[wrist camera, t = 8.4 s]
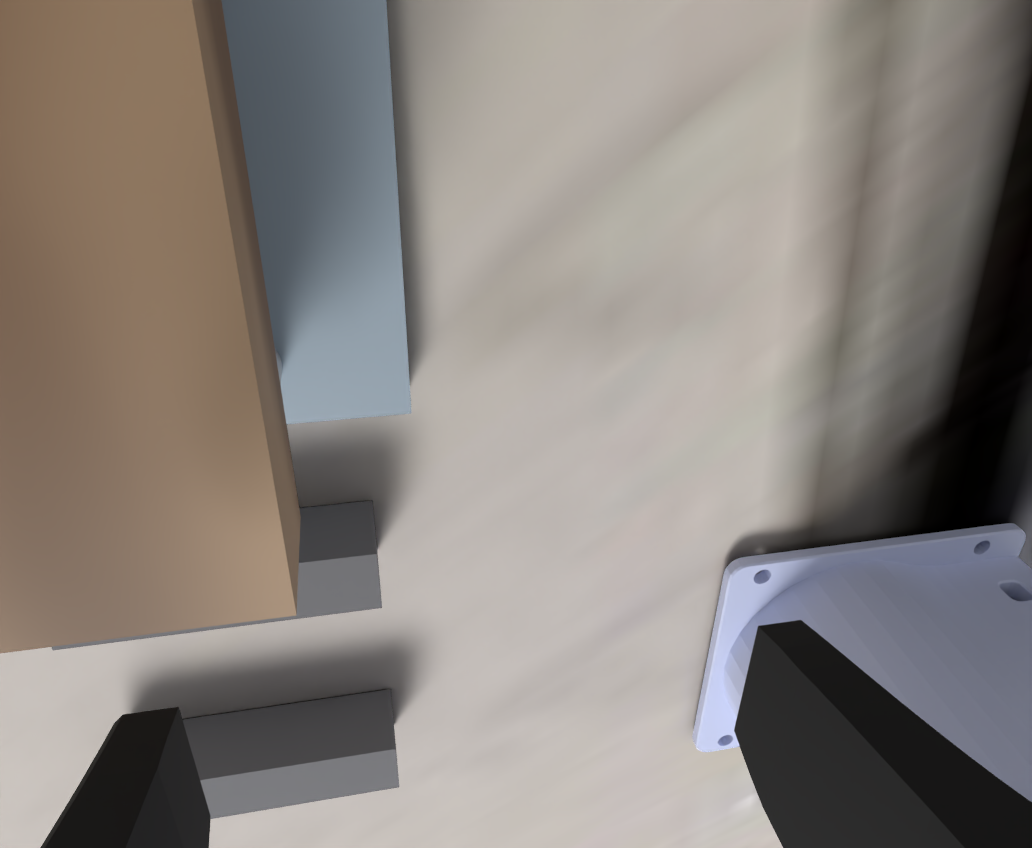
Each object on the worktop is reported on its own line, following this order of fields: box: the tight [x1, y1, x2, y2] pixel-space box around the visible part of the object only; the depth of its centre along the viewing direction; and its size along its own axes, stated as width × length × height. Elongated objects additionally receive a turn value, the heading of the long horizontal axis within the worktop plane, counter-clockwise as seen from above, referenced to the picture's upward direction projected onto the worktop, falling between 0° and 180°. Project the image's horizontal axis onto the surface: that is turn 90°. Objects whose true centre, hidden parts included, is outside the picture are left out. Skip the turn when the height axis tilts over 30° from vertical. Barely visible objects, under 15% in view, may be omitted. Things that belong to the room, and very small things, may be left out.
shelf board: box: [0, 0, 301, 653], centre depth 10 cm, size 4×10×2 cm, turn 179°
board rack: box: [52, 501, 399, 819], centre depth 20 cm, size 7×8×2 cm
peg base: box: [221, 0, 411, 424], centre depth 13 cm, size 9×10×4 cm
